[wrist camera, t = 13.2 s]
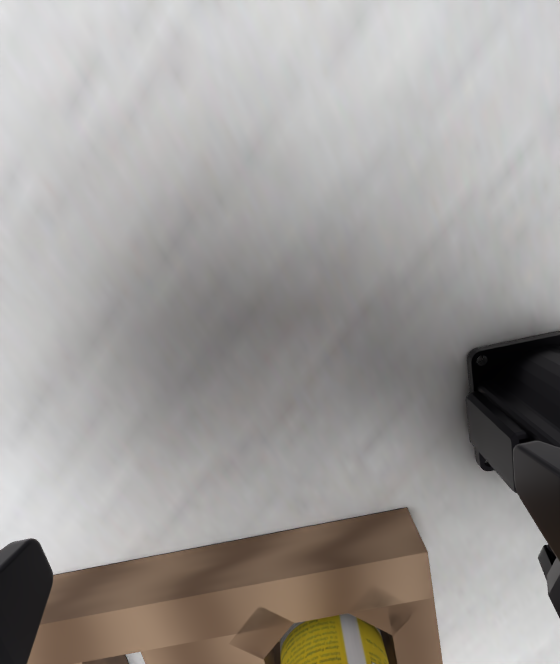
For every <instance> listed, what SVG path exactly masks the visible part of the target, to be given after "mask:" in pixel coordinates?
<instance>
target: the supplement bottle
mask: <svg viewBox="0 0 560 664" xmlns="http://www.w3.org/2000/svg"><path fill="white" fill-rule="evenodd" d="M280 656H281V664H389V662H388V658H387V655H386V651H385V647H384V643H383V639H382V635H381V632H380V629H379V628H377V627H375V626H373V625H371V624H369V623H367V622H365V621H363V620H361V619H359V618H357V617H355V616H353V615H351V614H349V613H348V614H342V615H337V616H331V617H326V618H320V619H315V620H309V621H304V622H299V623H294V624H293V625H292V626H291V627H290V628H289V630H288V631H287V632H286V633H285V634H284V635H283V637H282V638H281V639H280Z"/></svg>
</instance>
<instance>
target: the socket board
mask: <svg viewBox="0 0 560 664" xmlns="http://www.w3.org/2000/svg"><path fill="white" fill-rule="evenodd" d="M348 613H349V614H351V615H353V616H355V617H357V618H359V619H361V620H363V621H365V622H367V623H369V624H371V625H373V626H375V627H377V628H379V629H380V632H381V635H382V639H383V643H384V647H385V651H386V655H387V658H388V662H389V664H443V663H442V655H441V648H440V640H439V633H438V625H437V618H436V610H435V603H434V596H433V588H432V581H431V573H430V566H429V558H428V552H427V550H426V547H425V545H424V543H423V541H422V539H421V537H420V535H419V532H418V530H417V528H416V526H415V524H414V522H413V520H412V517H411V515H410V513H409V511H408V509H407V508H403V509H398V510H392V511H387V512H382V513H377V514H371V515H366V516H361V517H356V518H351V519H345V520H340V521H335V522H330V523H324V524H319V525H314V526H309V527H304V528H298V529H293V530H288V531H283V532H277V533H272V534H267V535H262V536H257V537H251V538H246V539H241V540H236V541H230V542H225V543H220V544H215V545H210V546H204V547H199V548H194V549H189V550H184V551H178V552H173V553H168V554H163V555H157V556H152V557H147V558H142V559H137V560H131V561H126V562H121V563H116V564H110V565H105V566H100V567H95V568H90V569H84V570H79V571H74V572H69V573H63V574H58V575H53V585H52V588H51V592H50V595H49V598H48V601H47V604H46V607H45V610H44V613H43V616H42V619H41V622H40V625H39V629H38V632H37V635H36V638H35V641H34V644H33V647H32V650H31V653H30V656H29V659H28V662H27V664H129V663H128V661H127V659H126V656H125V654H130V653H136V652H141V654H142V656H143V659H144V661H145V663H146V664H281V656H280V642H279V640H280V639H281V638H282V637H283V635H284V634H285V633H286V632H287V631H288V630H289V628H290V627H291V626H292V625H293V624H294V623H299V622H304V621H309V620H315V619H320V618H326V617H331V616H337V615H342V614H348Z"/></svg>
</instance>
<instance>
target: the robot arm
mask: <svg viewBox="0 0 560 664" xmlns="http://www.w3.org/2000/svg"><path fill="white" fill-rule="evenodd" d="M480 356H483V360H482V361H481V362H479V363H477V362H476V361H477V358H478V357H480ZM467 362H468V374H469V385H470V392H469V394H468V395H467V397H466V405H467V416H468V427H469V438H470V442H471V443H472V444H473V446H474V447H475V454H476V461H477V463H478V465H479V466H480V467H481V468H482V469H483V470H485V471H493V470H495V471H496V472H497V473H498V474H499V475H500V477H501V478H502V479H503V480H504V481H505V482H506V483H507V485H508V486H509V487H510V488H511V489H512V490H513V491H514V492H516V493H517V494H518V495H519V497H520V499H521V500H522V502H523V504H524V505H525V507H526V508H527V510H528V512H529V513H530V515H531V517H532V518H533V520H534V521H535V523H536V525H537V526H538V528H539V530H540V531H541V533H542V534H543V536H544V538H545V539H546V541H547V543H548V545H544V546H543V548H542V550H541V552H540V554H539V556H538V559H539V562H540V565H541V567H542V570H543V572H544V575H545V577H546V580H547V586H548V595H549V597H550V599H551V602H552V604H553V606H554V608H555V610H556V612H557V614H558V616H559V618H560V331H558V332H553V333H548V334H543V335H538V336H533V337H529V338H524V339H519V340H514V341H509V342H504V343H499V344H494V345H489V346H484V347H479V348H476V349H473V350H472V351H471V352H470V353H469V355H468V358H467ZM485 461H487V462H485ZM52 585H53V572H52V569H51V567H50V565H49V562H48V560H47V558H46V556H45V554H44V551H43V549H42V547H41V545H40V543H39V542H38V541H37V540H36V539H32V538H31V539H25V540H20V541H15V542H12V543H10V544H8V545H7V546H6V547H4V548H3V549H1V550H0V664H27V662H28V659H29V656H30V653H31V650H32V647H33V644H34V641H35V638H36V635H37V632H38V629H39V625H40V622H41V619H42V616H43V613H44V610H45V607H46V604H47V601H48V598H49V595H50V592H51V588H52Z"/></svg>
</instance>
